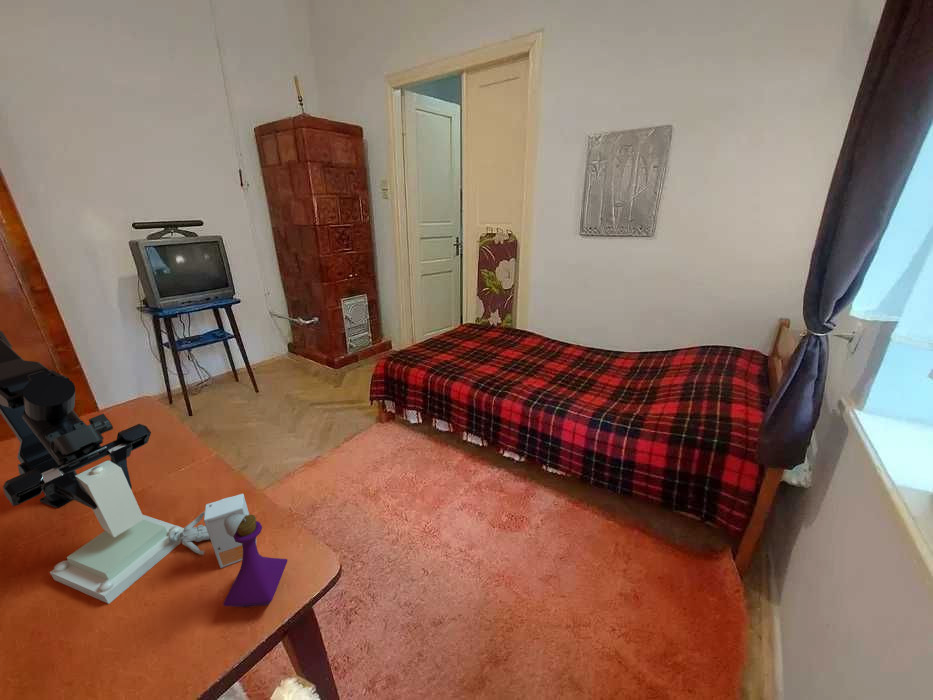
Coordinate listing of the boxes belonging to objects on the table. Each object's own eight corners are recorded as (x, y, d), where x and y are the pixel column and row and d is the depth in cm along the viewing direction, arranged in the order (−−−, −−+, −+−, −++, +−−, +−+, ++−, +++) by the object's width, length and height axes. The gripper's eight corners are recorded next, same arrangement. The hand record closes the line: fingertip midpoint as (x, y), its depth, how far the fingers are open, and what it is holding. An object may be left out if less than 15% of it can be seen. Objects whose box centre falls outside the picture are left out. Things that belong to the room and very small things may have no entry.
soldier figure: (242, 548, 73) (164, 561, 67) (239, 548, 77) (165, 561, 70) (245, 505, 76) (171, 513, 70) (242, 508, 80) (171, 516, 73)
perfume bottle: (248, 575, 67) (222, 498, 60) (291, 571, 68) (270, 495, 61) (227, 618, 60) (195, 537, 53) (275, 614, 61) (250, 533, 54)
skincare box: (220, 569, 68) (201, 520, 64) (221, 551, 72) (204, 503, 67) (257, 555, 71) (242, 507, 66) (257, 538, 74) (243, 492, 70)
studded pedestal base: (54, 579, 66) (44, 564, 65) (138, 519, 79) (132, 504, 77) (108, 603, 63) (99, 587, 61) (188, 536, 75) (182, 521, 73)
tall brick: (101, 527, 68) (73, 472, 63) (131, 510, 72) (107, 456, 67) (114, 537, 66) (85, 481, 62) (144, 518, 70) (119, 464, 65)
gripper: (-26, 440, 54) (38, 525, 54) (128, 385, 70) (179, 451, 69) (-17, 466, 61) (40, 543, 60) (122, 411, 76) (169, 472, 76)
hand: (113, 498), depth 66 cm, fingers closed on tall brick, 5 cm apart
